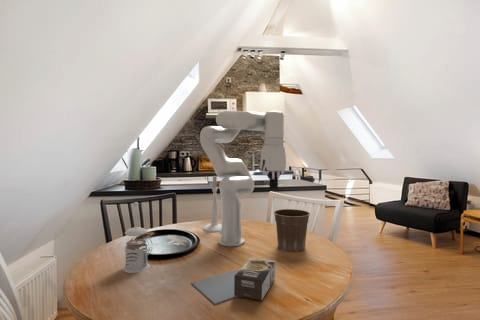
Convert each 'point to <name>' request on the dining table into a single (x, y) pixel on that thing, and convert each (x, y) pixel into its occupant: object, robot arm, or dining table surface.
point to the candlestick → (214, 211)
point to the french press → (136, 251)
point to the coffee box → (254, 278)
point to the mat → (217, 287)
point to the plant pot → (291, 229)
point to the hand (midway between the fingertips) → (273, 188)
